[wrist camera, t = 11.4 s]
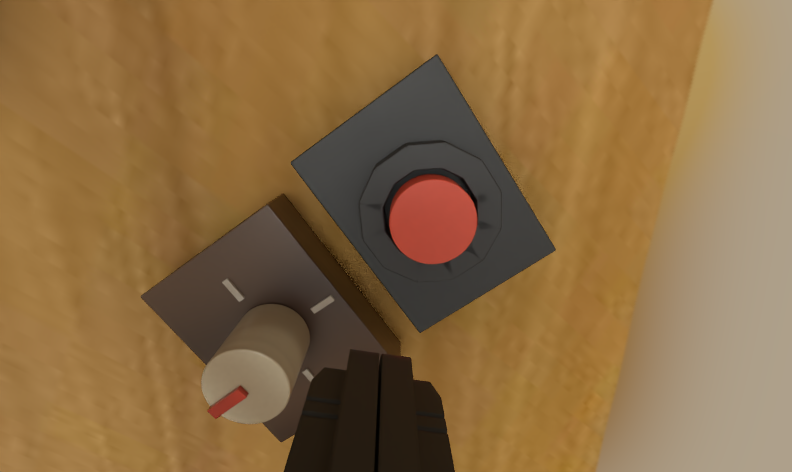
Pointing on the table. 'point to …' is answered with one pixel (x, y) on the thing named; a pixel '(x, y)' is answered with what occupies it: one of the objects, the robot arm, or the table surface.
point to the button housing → (413, 156)
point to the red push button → (432, 219)
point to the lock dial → (257, 365)
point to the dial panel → (272, 298)
